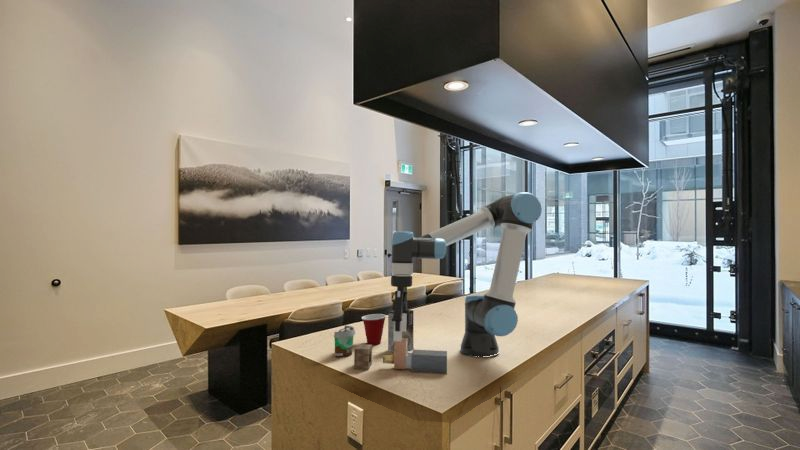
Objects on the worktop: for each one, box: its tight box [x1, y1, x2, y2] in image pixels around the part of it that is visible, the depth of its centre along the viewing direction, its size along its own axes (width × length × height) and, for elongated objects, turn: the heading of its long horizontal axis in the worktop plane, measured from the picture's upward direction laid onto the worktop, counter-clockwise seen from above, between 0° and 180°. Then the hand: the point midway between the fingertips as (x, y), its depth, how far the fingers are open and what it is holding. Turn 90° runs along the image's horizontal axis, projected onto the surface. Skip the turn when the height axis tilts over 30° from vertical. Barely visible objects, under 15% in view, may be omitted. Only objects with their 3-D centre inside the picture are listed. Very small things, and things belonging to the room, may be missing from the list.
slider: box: [382, 338, 412, 370], centre depth 133 cm, size 22×5×9 cm, turn 83°
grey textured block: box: [353, 343, 373, 371], centre depth 135 cm, size 5×6×7 cm
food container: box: [333, 325, 356, 359], centre depth 149 cm, size 12×6×10 cm, turn 168°
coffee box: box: [387, 308, 414, 353], centre depth 157 cm, size 9×6×16 cm
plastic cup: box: [361, 313, 387, 346], centre depth 166 cm, size 11×11×12 cm
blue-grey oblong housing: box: [410, 349, 448, 375], centre depth 132 cm, size 12×6×6 cm, turn 83°
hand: (400, 335), depth 133 cm, fingers open, 13 cm apart
